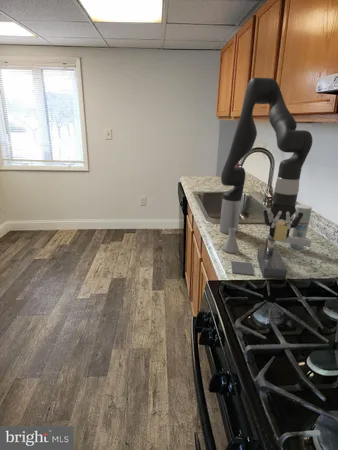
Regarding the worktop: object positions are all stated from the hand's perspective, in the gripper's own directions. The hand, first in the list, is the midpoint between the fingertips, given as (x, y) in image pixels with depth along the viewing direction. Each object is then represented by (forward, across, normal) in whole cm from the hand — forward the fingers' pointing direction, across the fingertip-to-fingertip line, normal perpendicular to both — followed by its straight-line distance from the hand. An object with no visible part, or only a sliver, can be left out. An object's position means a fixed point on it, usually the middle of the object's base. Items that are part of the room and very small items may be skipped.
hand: (278, 237), depth 109 cm
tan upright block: (0, 0, 0) cm, 0 cm away
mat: (+15, +11, -2) cm, 19 cm away
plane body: (+15, 0, -5) cm, 16 cm away
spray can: (+15, -15, -28) cm, 35 cm away
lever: (+5, -6, -8) cm, 11 cm away
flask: (+15, +15, -19) cm, 28 cm away
